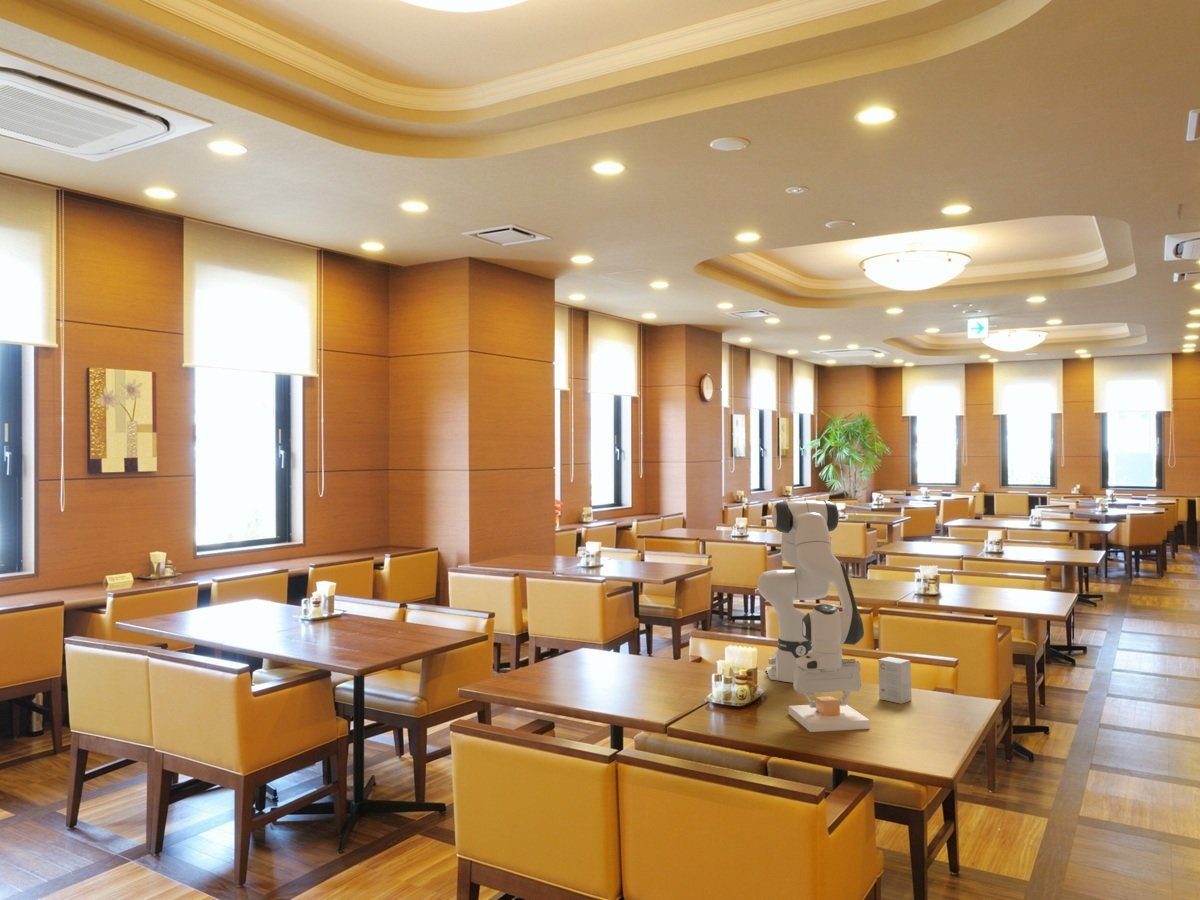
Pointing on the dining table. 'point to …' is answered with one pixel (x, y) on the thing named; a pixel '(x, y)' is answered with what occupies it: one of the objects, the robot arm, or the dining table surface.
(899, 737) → the dining table surface
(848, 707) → the socket plate
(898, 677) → the small box
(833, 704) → the plug
